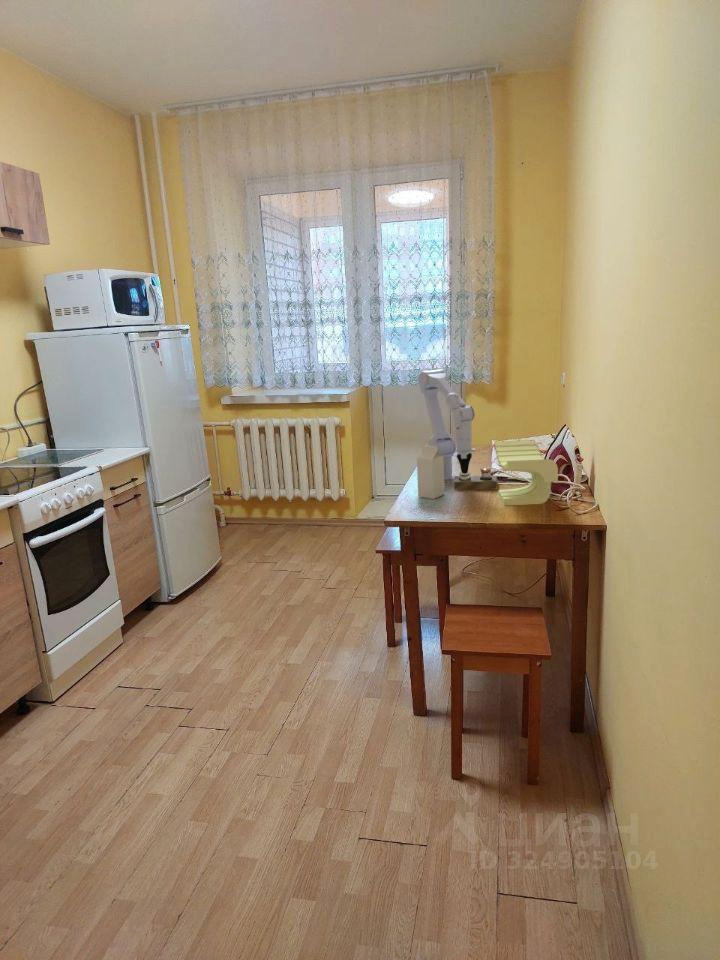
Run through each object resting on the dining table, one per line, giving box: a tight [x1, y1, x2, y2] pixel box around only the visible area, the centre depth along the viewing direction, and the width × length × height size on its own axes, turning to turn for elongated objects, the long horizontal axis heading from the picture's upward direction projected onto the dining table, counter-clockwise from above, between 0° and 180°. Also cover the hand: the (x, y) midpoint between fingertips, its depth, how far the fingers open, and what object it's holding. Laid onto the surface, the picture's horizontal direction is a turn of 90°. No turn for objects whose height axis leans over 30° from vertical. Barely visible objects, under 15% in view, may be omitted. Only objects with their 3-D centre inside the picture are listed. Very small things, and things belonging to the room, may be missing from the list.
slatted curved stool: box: [494, 439, 559, 506], centre depth 207 cm, size 30×16×18 cm, turn 175°
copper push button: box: [479, 467, 492, 480], centre depth 226 cm, size 4×4×4 cm
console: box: [453, 475, 498, 490], centre depth 228 cm, size 16×8×3 cm, turn 79°
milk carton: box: [416, 444, 446, 500], centre depth 217 cm, size 7×7×19 cm
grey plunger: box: [458, 471, 471, 480], centre depth 228 cm, size 4×4×4 cm
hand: (464, 472), depth 227 cm, fingers closed, pressing on grey plunger
